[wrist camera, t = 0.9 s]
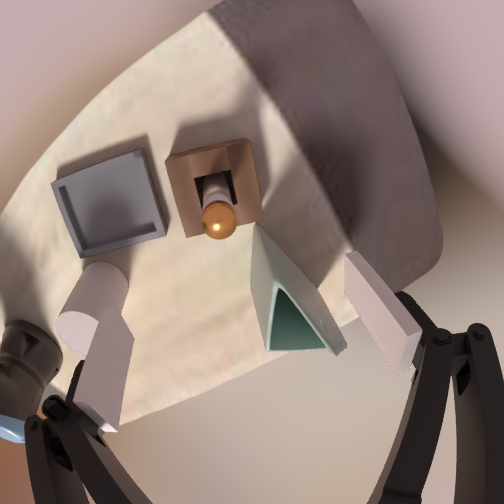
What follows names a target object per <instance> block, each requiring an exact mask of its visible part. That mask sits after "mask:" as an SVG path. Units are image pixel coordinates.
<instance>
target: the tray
mask: <svg viewBox="0 0 504 504" xmlns="http://www.w3.org/2000/svg"><path fill="white" fill-rule="evenodd" d="M51 186H52V189H53V192H54V195H55V198H56V201H57V203H58V206H59V209H60V211H61V214H62V216H63V219H64V222H65V224H66V226H67V229H68V231H69V234H70V236H71V238H72V241H73V243H74V245H75V248H76V250H77V252H78V254H79V256H80V259H82V258H85V257H89V256H92V255H96V254H99V253H103V252H107V251H110V250H114V249H118V248H122V247H125V246H129V245H133V244H137V243H141V242H145V241H148V240H152V239H156V238H160V237H164V236H166V235H167V231H168V230H167V227H166V224H165V221H164V218H163V215H162V211H161V208H160V205H159V202H158V198H157V195H156V192H155V188H154V185H153V181H152V178H151V175H150V171H149V167H148V164H147V160H146V157H145V153H144V149H143V148H141V149H138V150H135V151H132V152H129V153H126V154H123V155H120V156H117V157H114V158H111V159H108V160H105V161H103V162H100V163H97V164H94V165H92V166H89V167H87V168H84V169H82V170H79V171H77V172H74V173H72V174H69V175H67V176H64V177H62V178H60V179H57V180H55V181H54V182H52V183H51Z"/></svg>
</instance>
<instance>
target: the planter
mask: <svg viewBox="0 0 504 504" xmlns="http://www.w3.org/2000/svg"><path fill="white" fill-rule="evenodd" d="M251 292H252V296H253V301H254V305H255V309H256V313H257V317H258V321H259V325H260V329H261V333H262V337H263V341H264V345H265V349H266V351H268V352H293V351H307V350H319V349H328V350H329V351H330V353H331V354H332V355H333V356H335V357H336V356H338V355H339V353H341V352H342V351H343V350H344V349H345V348H347V343H346V341H345V339H344V337H343V335H342V333H341V331H340V330H339V328H338V326H337V324H336V322H335V320H334V318H333V316H332V315H331V313H330V311H329V309H328V307H327V305H326V304H325V302H324V300H323V298H322V296H321V295H320V293H319V291H318V289H317V288H316V286H315V285H314V284H313V283H312V282H311V281H310V280H309V279H308V278H307V276H306V275H305V274H304V273H303V272H302V271H301V270H300V269H299V268H298V267H297V265H296V264H295V263H294V262H293V261H292V260H291V259H290V258H289V257H288V256H287V255H286V253H285V252H284V251H283V250H282V249H281V248H280V247H279V246H278V245H277V244H276V243H275V242H274V240H273V239H272V238H271V237H270V236H269V235H268V234H267V233H266V232H265V231H264V230H263V229H262V228H261V227H260V226H259V225H258V224H255V226H254V229H253V245H252V261H251Z"/></svg>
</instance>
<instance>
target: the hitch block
mask: <svg viewBox="0 0 504 504" xmlns="http://www.w3.org/2000/svg"><path fill="white" fill-rule="evenodd" d="M165 165H166V169H167V173H168V176H169V180H170V184H171V187H172V191H173V194H174V198H175V201H176V205H177V208H178V212H179V215H180V219H181V222H182V225H183V228H184V232H185V235H186V238H188V237H192V236H197V235H201V234H205V232H204V230H203V226H202V215H203V201H202V197H201V193H200V189H199V185H198V181H197V177H200V176H204V175H209V174H213V173H217V172H222V171H226V170H230V173H231V178H232V183H233V187H234V192H235V195H230V196H231V200H232V204H233V208H234V212H235V216H236V220H237V226H240V225H244V224H248V223H253V222H257V221H262V220H264V216H263V210H262V204H261V199H260V193H259V188H258V182H257V176H256V171H255V166H254V160H253V155H252V149H251V144H250V141H249V140H248V139H246V138H243V139H238V140H233V141H228V142H224V143H219V144H215V145H210V146H206V147H202V148H198V149H194V150H190V151H186V152H182V153H178V154H174V155H171V156H169V157H168V158H167V159H166V160H165Z"/></svg>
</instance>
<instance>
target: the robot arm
mask: <svg viewBox="0 0 504 504" xmlns="http://www.w3.org/2000/svg"><path fill="white" fill-rule="evenodd" d="M345 294H346V296H347V297H348V299H349V300H350V302H351V304H352V305H353V307H354V308H355V310H356V311H357V313H358V315H359V316H360V318H361V319H362V321H363V322H364V324H365V326H366V328H367V329H368V331H369V332H370V334H371V336H372V337H373V339H374V340H375V342H376V344H377V346H378V347H379V349H380V351H381V352H382V354H383V356H384V357H385V359H386V361H387V362H388V364H389V366H390V368H391V369H392V371H393V373H394V374H395V376H398V375H400V374H402V373H405V372H407V371H409V370H410V367H411V364H412V363H413V365H414V366H415V368H416V370H415V373H414V375H413V377H412V380H411V381H412V385H411V389H410V393H409V396H408V400H407V403H406V407H405V410H404V414H403V416H402V420H401V423H400V426H399V429H398V432H397V434H396V438H395V440H394V443H393V446H392V449H391V451H390V454H389V456H388V459H387V461H386V464H385V466H384V468H383V471H382V473H381V476H380V478H379V480H378V482H377V484H376V487H375V489H374V491H373V493H372V495H371V497H370V499H369V501H368V503H367V504H421V501H422V499H421V493H422V490H423V487H424V484H425V482H426V479H427V476H428V473H429V470H430V467H431V464H432V460H433V457H434V453H435V450H436V446H437V442H438V439H439V435H440V430H441V426H442V422H443V417H444V413H445V407H446V402H447V396H448V390H449V384H450V377H451V376H452V381H453V389H454V400H455V411H456V412H455V413H456V433H457V463H456V483H455V496H454V504H504V380H503V375H502V371H501V367H500V363H499V359H498V355H497V352H496V348H495V345H494V341H493V338H492V335H491V332H490V330H489V329H488V327H486V326H485V325H483V324H481V323H474V324H472V325H470V326H469V328H468V330H467V332H464V333H457V334H451V333H450V332H449V331H448V330H446V329H442V328H437V327H436V326H435V324H434V323H433V322H432V320H431V319H430V318H429V317H428V316H427V314H426V313H425V312H424V311H423V310H422V309H421V307H420V306H419V305H418V304H416V301H415V300H414V299H413V298H412V297H411V296H410V295H408V294H407V293H405V292H403V291H400V292H397V293H393V292H392V291H391V290H390V289H389V287H388V286H387V285H386V284H385V283H384V281H383V280H382V279H381V278H380V277H379V275H378V274H377V273H376V272H375V271H374V270H373V268H372V267H371V266H370V265H369V264H368V263H367V262H366V260H365V259H364V258H363V257H362V256H361V255H360V254H359V253H358V251H354V252H350V253H346V254H345ZM134 339H135V338H134V337H133V335H132V333H131V332H130V330H129V328H128V326H127V325H126V323H125V321H124V319H123V318H122V316H121V314H120V312H119V310H118V308H117V307H116V305H112V306H107V307H104V310H103V312H102V315H101V317H100V320H99V323H98V325H97V328H96V331H95V333H94V336H93V339H92V342H91V345H90V347H89V350H88V353H87V356H86V359H85V360H81V361H80V362H79V364H78V365H77V366H76V368H75V371H74V374H73V377H72V380H71V383H70V386H69V390H68V393H67V396H66V400H65V401H64V400H63V399H62V398H61V397H60V396H58V395H51V396H49V397H48V398H47V399H46V400H45V401H44V403H43V405H42V413H43V414H44V415H45V416H46V417H48V418H46V419H42V418H40V417H39V416H38V415H36V414H37V410H38V407H39V404H40V401H41V398H42V395H43V392H44V389H45V387H46V386H47V385H48V384H49V383H50V382H51V380H52V379H53V378H54V377H55V376H56V375H57V374H58V373H59V371H60V368H61V366H62V363H63V357H62V353H61V351H60V349H59V348H58V346H57V345H56V343H55V342H54V341H53V340H52V339H51V338H50V337H49V336H48V335H47V334H46V333H45V332H44V331H42V330H41V329H39V328H38V327H36V326H34V325H33V324H30V323H28V322H25V321H20V320H15V321H12V322H10V323H9V324H8V326H7V327H6V329H5V331H4V333H3V338H2V343H1V349H0V437H2V438H4V439H6V440H9V441H12V442H16V443H24V442H25V446H26V454H27V462H28V468H29V475H30V480H31V486H32V490H33V495H34V500H35V504H89V501H88V498H87V496H86V492H85V490H84V486H83V484H84V485H85V487H86V489H87V490H88V492H89V494H90V495H91V497H92V499H93V500H94V502H95V503H96V504H152V502H151V501H150V500H149V499H148V498H147V497H146V495H145V494H144V493H143V492H142V491H141V489H140V488H139V487H138V486H137V485H136V483H135V482H134V481H133V480H132V478H131V477H130V476H129V474H128V473H127V472H126V470H125V469H124V468H123V466H122V465H121V464H120V462H119V461H118V460H117V458H116V457H115V455H114V454H113V452H112V451H111V450H110V448H109V447H108V445H107V444H106V442H105V441H104V439H103V437H102V436H101V435H100V434H99V433H98V427H100V428H101V429H102V430H104V431H105V432H118V427H119V420H120V413H121V407H122V400H123V394H124V389H125V383H126V378H127V372H128V367H129V362H130V357H131V353H132V348H133V343H134ZM82 482H83V483H82Z"/></svg>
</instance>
